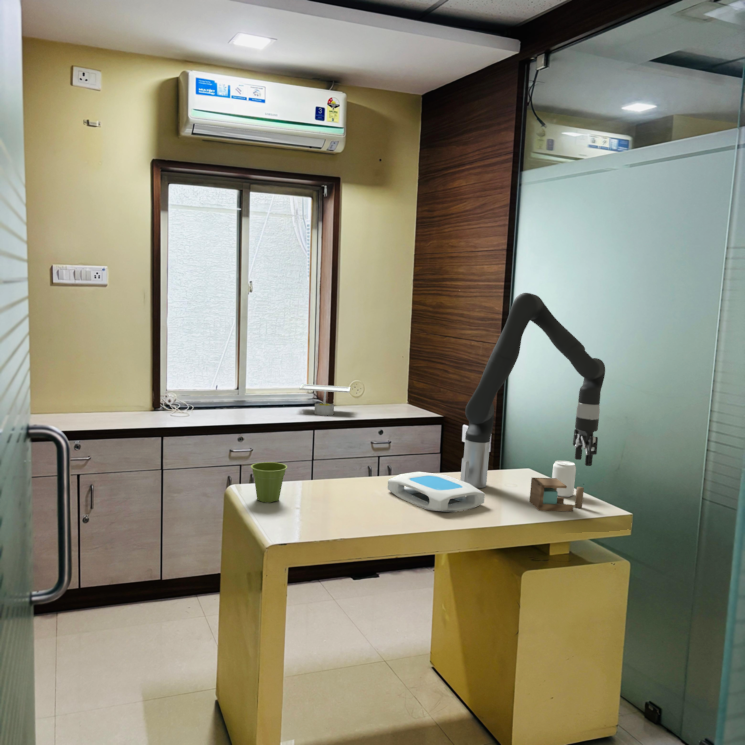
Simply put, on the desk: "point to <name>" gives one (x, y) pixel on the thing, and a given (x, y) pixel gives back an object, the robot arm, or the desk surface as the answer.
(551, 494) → the tethered block
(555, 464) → the beverage can
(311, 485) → the desk surface
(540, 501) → the walnut cubby
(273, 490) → the plant pot
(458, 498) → the aerobic step platform
